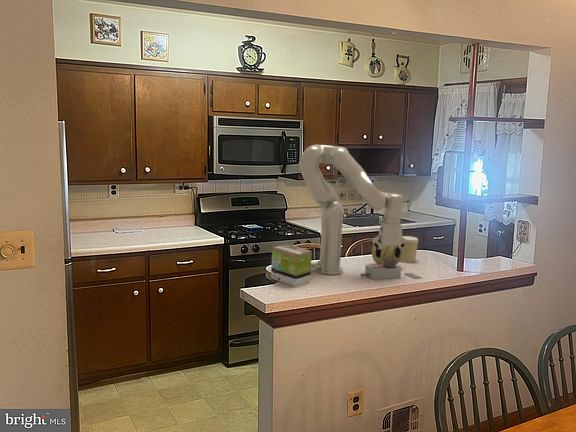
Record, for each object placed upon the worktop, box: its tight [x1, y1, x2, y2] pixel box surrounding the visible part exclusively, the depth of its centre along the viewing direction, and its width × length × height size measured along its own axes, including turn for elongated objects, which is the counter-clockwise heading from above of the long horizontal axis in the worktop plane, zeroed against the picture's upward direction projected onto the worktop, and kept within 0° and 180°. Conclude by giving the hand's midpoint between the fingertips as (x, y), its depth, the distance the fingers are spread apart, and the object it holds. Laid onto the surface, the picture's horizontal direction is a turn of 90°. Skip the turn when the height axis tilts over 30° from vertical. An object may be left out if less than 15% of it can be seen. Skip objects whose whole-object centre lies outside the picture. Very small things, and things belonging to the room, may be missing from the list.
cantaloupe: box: [371, 240, 402, 266], centre depth 263 cm, size 15×15×15 cm
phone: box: [403, 272, 422, 280], centre depth 250 cm, size 4×8×1 cm, turn 24°
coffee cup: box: [400, 235, 419, 263], centre depth 277 cm, size 9×9×12 cm
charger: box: [383, 258, 396, 269], centre depth 248 cm, size 4×4×7 cm
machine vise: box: [360, 264, 402, 281], centre depth 247 cm, size 18×8×5 cm, turn 107°
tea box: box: [270, 243, 313, 288], centre depth 234 cm, size 15×10×15 cm, turn 47°
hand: (387, 257), depth 247 cm, fingers open, 9 cm apart
